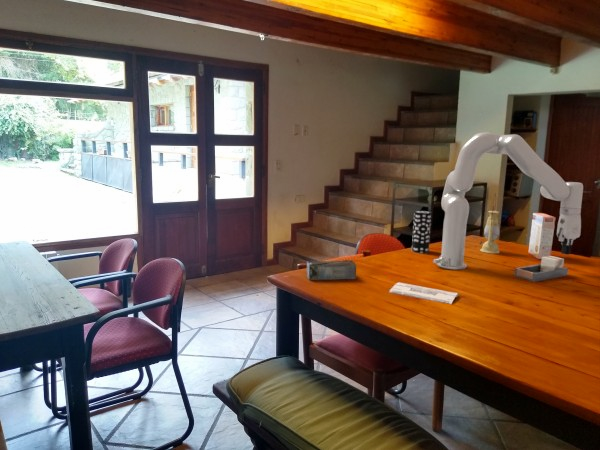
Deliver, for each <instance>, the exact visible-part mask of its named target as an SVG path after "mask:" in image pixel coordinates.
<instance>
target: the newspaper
mask: <svg viewBox="0 0 600 450" xmlns="http://www.w3.org/2000/svg"><path fill="white" fill-rule="evenodd" d="M388 291H389V292H388V293H389V294H395V295H401V296H405V297H411V298H417V299H421V300H426V301H432V302H437V303H443V304H447V305H452V304H453V301H454V300H455V298H458V297H459V292H454V291H447V290H441V289H437V288H430V287H425V286H420V285H414V284H410V283H405V282H397V283H395V284H394V285H393V286H392V287H391V289H389V290H388Z"/></svg>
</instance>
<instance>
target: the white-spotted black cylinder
mask: <svg viewBox="0 0 600 450" xmlns="http://www.w3.org/2000/svg"><path fill="white" fill-rule="evenodd" d="M413 212H414V213H413V222H412V223H413V224H412V225H413V226H412V242H411V252H413V253H418V254H428V253H429V252H430V251H429V250H430V241H431V239H430V237H431V225H432V211H428V210H427V211H426V210H414V211H413Z"/></svg>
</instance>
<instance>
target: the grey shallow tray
mask: <svg viewBox="0 0 600 450" xmlns="http://www.w3.org/2000/svg"><path fill="white" fill-rule="evenodd" d="M540 269H541V263H540V264H539V263H538V264H533V265H528V266H527V265H526V266H521V267H515V268H514V273H513V276H514V277H516V278H520V279H523V280H526V281H530V282H533V283H535V282H541V281H545V280H546V281H547V280H551V279H556V278H561V277H565V276H568V271H569V267H567V266H566V267H565V266H563V268H559V269H554V270H548V271H540Z"/></svg>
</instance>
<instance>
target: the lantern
mask: <svg viewBox="0 0 600 450" xmlns="http://www.w3.org/2000/svg"><path fill="white" fill-rule="evenodd" d="M496 194H497V193H494V197H493V202H492V204H494V203H495V205H494V207H491V208H492V209H491V210H489V211H487V213H488V215H489V216H488V217H487V221H486V224H485V227H484V230H483V231H484V232H483V236H484V237H485V239H486V240H487V241H485V242H483V241H480V243H479V245H481V248H480V249H479V251H480V252H482V253H485V254H494V255H495V254H500V250H499V245H498V243H496V240H498V238H499V237H500V226H499V217H497V216H498V214H499V213H500V211H498V210H495V208H496V204H497V202H494V201H495V199H496V198H497V195H496Z"/></svg>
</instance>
